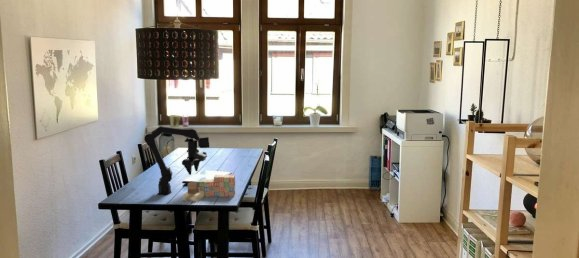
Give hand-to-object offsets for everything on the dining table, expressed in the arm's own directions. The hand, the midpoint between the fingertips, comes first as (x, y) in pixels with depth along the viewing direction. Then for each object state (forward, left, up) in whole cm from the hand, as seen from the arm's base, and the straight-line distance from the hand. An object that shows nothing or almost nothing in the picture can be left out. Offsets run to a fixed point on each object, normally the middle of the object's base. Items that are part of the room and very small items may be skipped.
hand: (193, 172), depth 283 cm
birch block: (+6, -13, -12) cm, 19 cm away
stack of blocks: (+17, -3, -12) cm, 21 cm away
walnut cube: (+6, -13, -8) cm, 16 cm away
